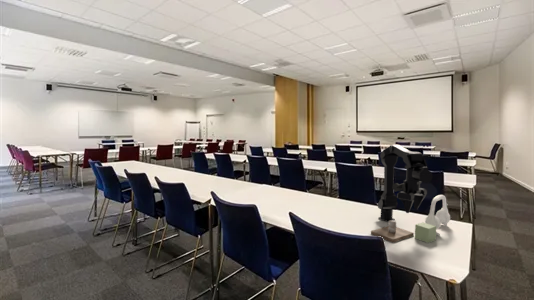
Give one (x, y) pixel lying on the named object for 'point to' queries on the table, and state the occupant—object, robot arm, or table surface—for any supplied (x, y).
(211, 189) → the table surface
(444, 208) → the headset
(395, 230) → the brown rectangular block
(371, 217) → the table surface
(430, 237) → the sage green cube
